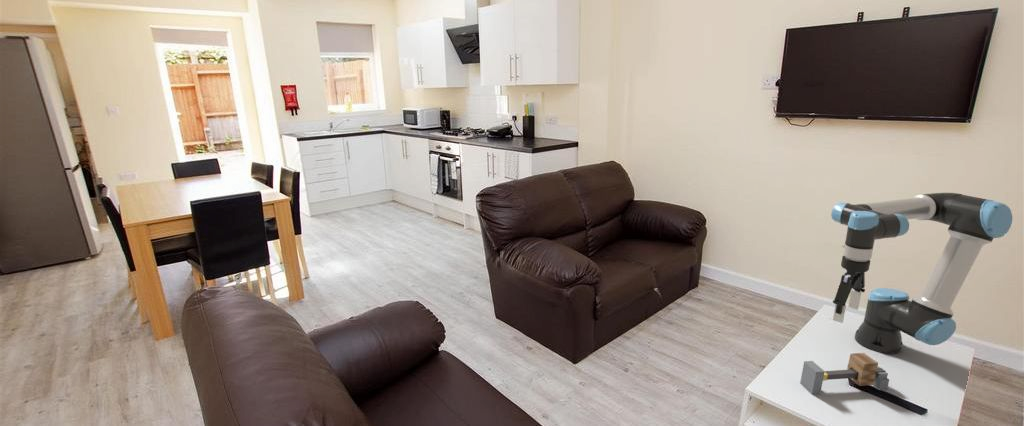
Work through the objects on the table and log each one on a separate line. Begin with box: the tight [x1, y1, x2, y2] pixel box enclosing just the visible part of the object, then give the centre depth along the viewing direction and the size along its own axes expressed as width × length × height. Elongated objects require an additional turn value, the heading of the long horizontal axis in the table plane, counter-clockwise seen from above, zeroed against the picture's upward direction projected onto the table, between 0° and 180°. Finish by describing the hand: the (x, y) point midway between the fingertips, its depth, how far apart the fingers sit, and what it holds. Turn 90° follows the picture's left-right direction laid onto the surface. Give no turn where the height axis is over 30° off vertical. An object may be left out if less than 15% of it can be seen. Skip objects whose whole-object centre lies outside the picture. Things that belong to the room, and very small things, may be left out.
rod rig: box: [799, 360, 890, 395], centre depth 159 cm, size 27×6×9 cm, turn 93°
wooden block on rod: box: [846, 352, 879, 387], centre depth 159 cm, size 5×6×9 cm
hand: (845, 314), depth 158 cm, fingers open, 13 cm apart
